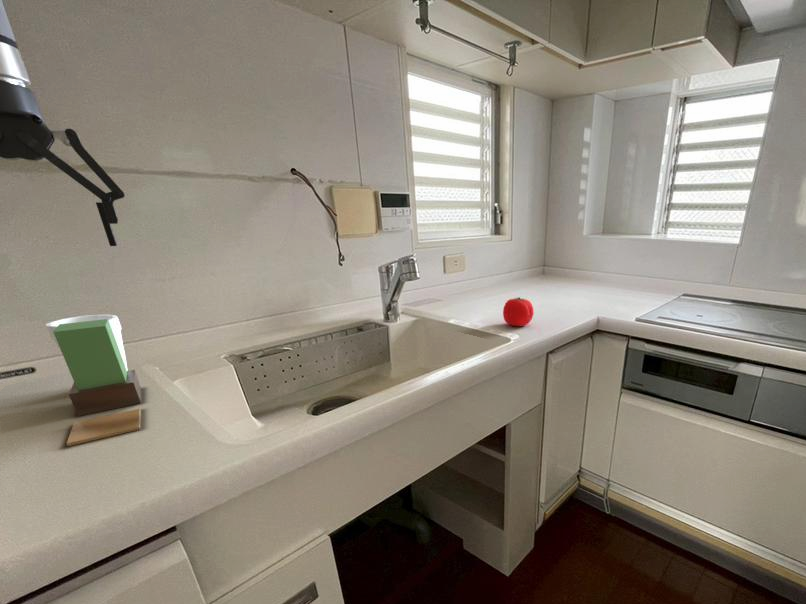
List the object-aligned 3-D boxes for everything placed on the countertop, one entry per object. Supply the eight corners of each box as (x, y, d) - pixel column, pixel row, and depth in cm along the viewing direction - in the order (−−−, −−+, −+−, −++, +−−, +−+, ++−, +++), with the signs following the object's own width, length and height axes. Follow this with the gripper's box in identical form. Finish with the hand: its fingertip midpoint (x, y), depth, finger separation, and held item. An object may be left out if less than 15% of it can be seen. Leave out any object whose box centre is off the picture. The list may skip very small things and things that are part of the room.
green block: (82, 379, 70) (59, 324, 66) (127, 372, 74) (108, 318, 70) (77, 390, 66) (53, 331, 62) (126, 382, 69) (105, 325, 66)
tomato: (506, 329, 118) (506, 301, 115) (499, 321, 127) (499, 294, 124) (536, 328, 120) (537, 300, 116) (527, 320, 129) (528, 294, 126)
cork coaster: (74, 425, 63) (73, 422, 63) (140, 411, 68) (139, 408, 68) (67, 446, 57) (66, 443, 57) (140, 429, 62) (139, 426, 62)
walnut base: (83, 400, 72) (74, 379, 70) (141, 389, 76) (134, 369, 75) (77, 416, 66) (68, 394, 65) (141, 403, 71) (133, 382, 69)
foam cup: (151, 379, 81) (129, 316, 76) (97, 398, 73) (69, 328, 68) (117, 374, 83) (94, 313, 78) (61, 392, 75) (32, 324, 70)
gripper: (-192, 50, 44) (-89, 252, 52) (114, 93, 59) (158, 245, 67) (-156, 68, 49) (-67, 248, 57) (116, 103, 64) (157, 243, 72)
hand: (54, 247), depth 62 cm, fingers open, 13 cm apart
